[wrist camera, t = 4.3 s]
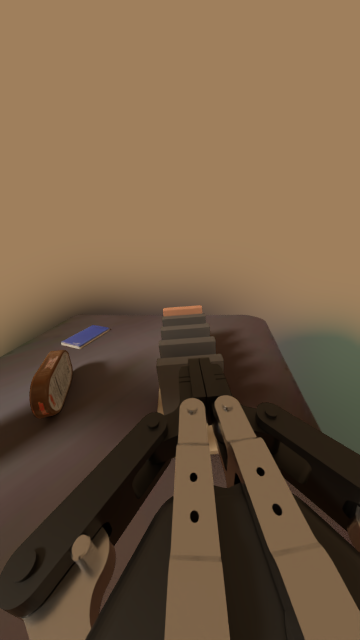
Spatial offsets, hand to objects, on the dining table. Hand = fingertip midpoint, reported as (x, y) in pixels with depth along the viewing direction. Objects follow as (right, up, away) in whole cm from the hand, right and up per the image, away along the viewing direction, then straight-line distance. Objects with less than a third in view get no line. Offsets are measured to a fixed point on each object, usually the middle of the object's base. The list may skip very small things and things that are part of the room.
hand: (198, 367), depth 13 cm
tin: (-26, -12, +25) cm, 38 cm away
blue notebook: (-32, -3, +48) cm, 58 cm away
